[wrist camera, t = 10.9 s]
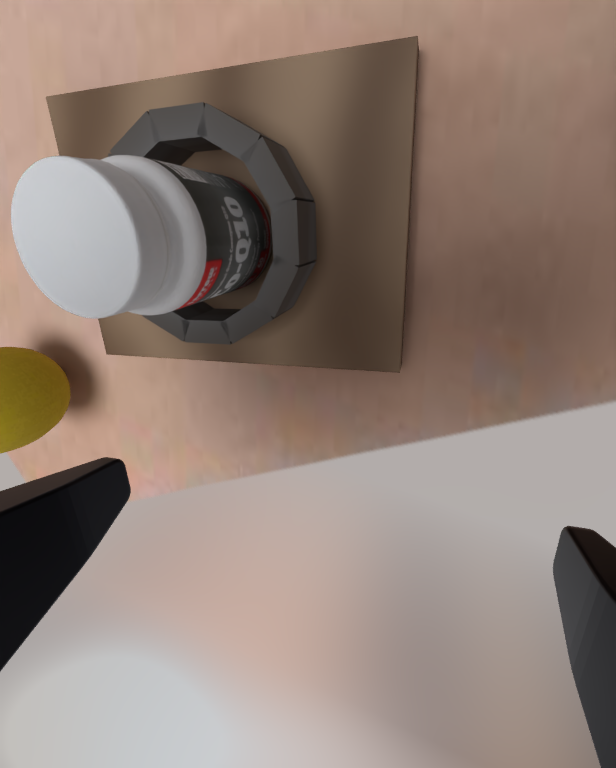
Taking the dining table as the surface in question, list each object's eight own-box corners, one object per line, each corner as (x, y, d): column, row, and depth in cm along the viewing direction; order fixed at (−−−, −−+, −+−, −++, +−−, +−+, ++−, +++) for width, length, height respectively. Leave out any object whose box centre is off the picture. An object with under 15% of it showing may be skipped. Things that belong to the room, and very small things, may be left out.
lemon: (25, 320, 24) (-142, 361, 17) (100, 349, 24) (-42, 404, 16) (30, 396, 27) (-114, 459, 20) (99, 425, 26) (-26, 501, 19)
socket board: (418, 49, 14) (414, -2, 11) (401, 363, 19) (395, 394, 15) (67, 103, 19) (-10, 78, 15) (121, 348, 23) (70, 369, 20)
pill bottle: (265, 300, 18) (150, 356, 11) (175, 275, 19) (10, 310, 12) (283, 188, 16) (157, 161, 9) (182, 165, 17) (-13, 122, 10)
